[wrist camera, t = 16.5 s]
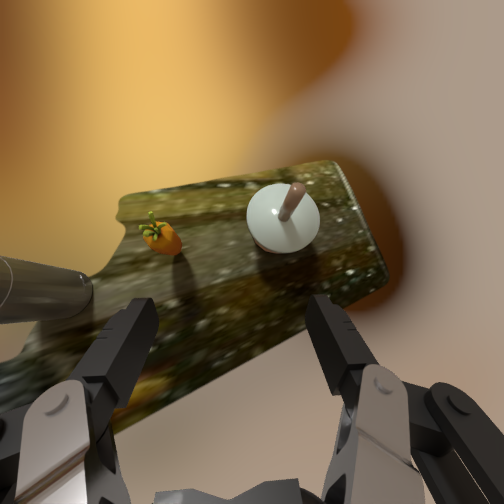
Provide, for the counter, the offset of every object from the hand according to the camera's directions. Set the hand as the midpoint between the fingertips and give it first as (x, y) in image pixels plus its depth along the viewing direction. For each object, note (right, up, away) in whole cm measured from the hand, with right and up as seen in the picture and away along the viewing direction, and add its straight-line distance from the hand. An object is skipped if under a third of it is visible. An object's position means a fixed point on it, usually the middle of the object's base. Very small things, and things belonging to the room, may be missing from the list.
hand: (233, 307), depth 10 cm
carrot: (-15, +3, +32) cm, 35 cm away
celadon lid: (+7, +9, +28) cm, 30 cm away
